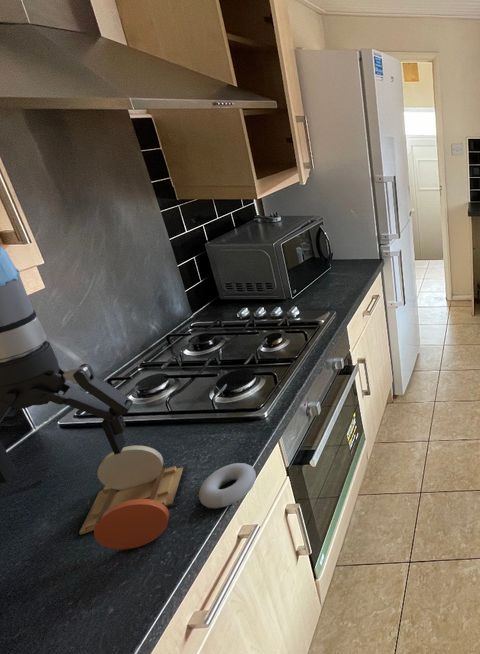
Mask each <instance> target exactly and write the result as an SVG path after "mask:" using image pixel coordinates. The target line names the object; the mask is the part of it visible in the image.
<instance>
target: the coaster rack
mask: <svg viewBox="0 0 480 654" xmlns="http://www.w3.org/2000/svg"><path fill="white" fill-rule="evenodd" d="M183 469H184V467H183V466H182V467H177V466H176V465H174V466H170V467H162V470H161V472H160V474H159V475H158V477H157V478H156V479H155V480H153V481H152V482H150V483H147V484H143V485H140V486H136V487H133V488H130V489H126V490H117V489H113V488H109V487H107V486H105V485H104V487H103V489H101V490H100V491H98V493H97V495H96V498H95V500H94V502H93V504H92V506H91V508H90V510H89V512H88V514H87V515H86V518H85V520H84V521H83V524H82V526H81V528H80V530H79V532H78V534H79V535H80V536H81V535H84V534H87V533H91V532H94V529H95V526H96V524H97V522H98V520H99V518H100V517H101V516H102V515H103V514H104V513H105V512H106V511H107V510H108V509H110V508H111V507H113V506H115V505H117V504H119V503H122V502H125V501H129V500H134V499H150V500H155V501H158V502H160V503H162V504H163V505H165V506H166V508H168V507H173V505H174V501H175V498H176V494H177V491H178V487H179V484H180V481H181V477H182V474H183V471H184V470H183Z"/></svg>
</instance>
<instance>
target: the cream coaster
mask: <svg viewBox="0 0 480 654" xmlns="http://www.w3.org/2000/svg"><path fill="white" fill-rule="evenodd" d="M162 455H163V454H161V453H160V452H159V451H158V450H156V449H155V448H153V447H150V446H146V445H128V446H124V447H123V449H122V451H121V453H119V454H115V455H114V452H113V451H112V452H110V453H109V454H107V455H106V456H105V457H104V458H103V459H102V461H101V462H100V464H99V466H98V468H97V472H96V473H97V479H98V481H99V482H100V483H101V484H102V485H104V487H105V486H107V487H109V488H113V489H117V490H126V489H130V488H133V487H136V486H140V485H143V484H147V483H150V482H152V481H153V480H155V479H156V478H157V477H158V475H159V474H160V472H161V470H162V468H164V457H163V456H162Z"/></svg>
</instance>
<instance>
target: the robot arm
mask: <svg viewBox="0 0 480 654" xmlns="http://www.w3.org/2000/svg"><path fill="white" fill-rule="evenodd" d="M47 337H48V336H47V334H46V333H45V330H44V327H43V326H42V324H41V321H40V319H39V317H38V315H37V312H36V311H35V309H34V307H33V305H32V302H31V301H30V298H29V295H28V293H27V291H26V288H25V285H24V283H23V280H22V277H21V274H20V270H19V269H18V268H17V267H16V266H15V264H14V262H13V261H12V259H11V257H10V255H9V253H8V252H7V250H6V249H5V248H3V247H2V246H0V424H1V423H2V421H3V420H4V419H5V417H6V416H7V414H8V413H9V412H10V410H11V409H12V408H13V409H18V410H23V409H28V408H31V407H32V406H43V405H48V404H49V403H50V402H51V403H54V404H55V405H60V406H61V405H65V406H68V407H72V409H73V408H74V409H76V410H79V411H82V412H84V413H87V414H90V415H92V416H94V417H97V418H100V419H103V420H102V422H101V424H100V425H101V427H102V429H103V432H104V434H105V436H106V438H107V441H108V443H109V446H110V447H111V449H112V452H114V455H115V454H119V453H121V451H122V449H123V447H125V444H126V439H125V437H124V435H123V433H124V431H125V429H126V427H127V426H126V425H127V424H126V422H125V420H124V417H123V415H126V414H128V413H129V411H130V409H131V407H132V405H133V403H134V401H133V399H131V398H129V396H127V395H125V394H124V393H122V392H121V391H120V390H118V389H117V388H115V387H114V386H113V385H111V384H110V383H108V382H107V381H105V380H104V379H102V378H101V377H100V376H98V375H97V374H96V373H95V371H94V370H93V368H92V366H91V365H90V364H88V363H81V365H80V366H79V367H77V368H74V369H70V370H67V371H65V370H63V369H62V368H61V367H60V365H59V360H58V358H57V356H56V353H55V351H54V349H53V347H52V344H51V343H50V341H47ZM67 381H71V382H72V384H71V383H69V382H67ZM75 385H78V386H79V387H80V388H81V389H83V390H84V391H83V390H80V389H77V387H76V386H75ZM60 391H61V392H62V394H61V393H60ZM16 470H17V468H16V465H14V462H13V461H12V458H11V457H10V455H9V453H8V452H7V450H6V448H5V447H4V444H3V443H2V441H1V440H0V485H1V484H5V483H8V481H9V479H10V478H11V477H12V476H13V474H14V473H15V472H16Z"/></svg>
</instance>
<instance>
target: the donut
mask: <svg viewBox="0 0 480 654" xmlns="http://www.w3.org/2000/svg"><path fill="white" fill-rule="evenodd" d="M256 475H257V473H256V470H255V469H254V467H253V466H252V465H250V464H248V463H245V462H235V463H230V464H227V465H224V466H222V467H220V468H218V469H216V470H215V471H214V472H212V473H211V474H210V475H208V476H207V478H206V479H205V480H204V481H203V482H202V484H201V485H200V488H199V489H198V500H199V502H200V504H201V505H202V506H204V507H206V508H208V509H222V508H226V507H228V506H231V505H234V504H235V503H237V502H238V501H240V500H241V499H243V498H244V497H245V496H247V494H248V493H250V491H251V490H252V489H253V487H254V486H255V482H256V480H257V476H256ZM232 481H235V482H234V483H233V484H232V485H230V486H228V487H225V488H221V487H222V486H224V485H225V484H227V483H230V482H232Z"/></svg>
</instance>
